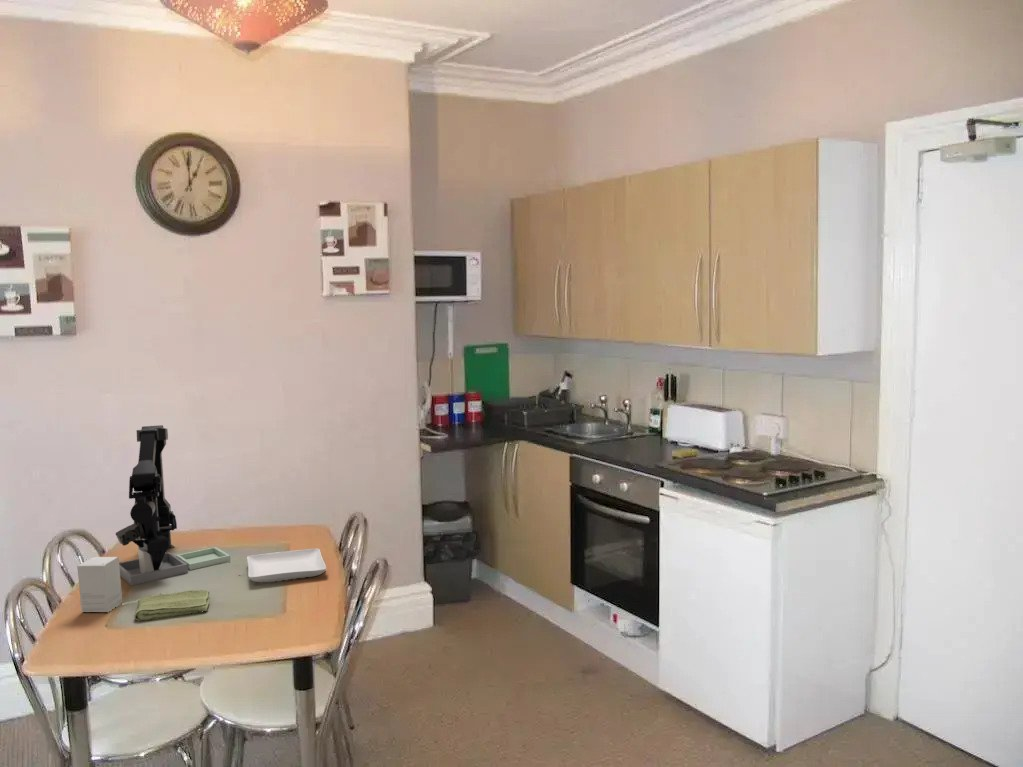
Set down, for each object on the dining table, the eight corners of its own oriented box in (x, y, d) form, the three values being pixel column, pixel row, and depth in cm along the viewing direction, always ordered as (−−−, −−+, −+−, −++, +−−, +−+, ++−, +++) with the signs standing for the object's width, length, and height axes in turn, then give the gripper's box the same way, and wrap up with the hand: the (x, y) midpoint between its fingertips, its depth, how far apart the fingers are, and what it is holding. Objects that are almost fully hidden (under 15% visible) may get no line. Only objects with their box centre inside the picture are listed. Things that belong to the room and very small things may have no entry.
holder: (176, 562, 258) (176, 555, 258) (215, 553, 265) (215, 546, 265) (190, 571, 249) (189, 564, 248) (230, 562, 256) (230, 555, 256)
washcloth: (209, 614, 217) (208, 602, 216) (134, 624, 211) (133, 612, 211) (210, 597, 229) (209, 585, 229) (138, 606, 224) (137, 594, 223)
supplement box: (123, 602, 225) (120, 556, 223) (107, 613, 218) (103, 565, 216) (97, 602, 226) (93, 556, 224) (80, 613, 218) (76, 565, 217)
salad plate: (319, 557, 260) (319, 546, 260) (327, 579, 240) (327, 567, 240) (246, 566, 254) (246, 554, 253) (249, 589, 234) (248, 577, 233)
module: (139, 571, 248) (138, 548, 247) (157, 567, 251) (156, 544, 250) (145, 576, 244) (143, 552, 243) (163, 572, 247) (161, 548, 246)
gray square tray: (115, 573, 249) (114, 563, 248) (170, 561, 258) (169, 552, 258) (131, 587, 237) (130, 576, 236) (188, 574, 246) (187, 564, 246)
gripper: (108, 513, 248) (112, 565, 249) (126, 526, 233) (131, 581, 235) (148, 506, 255) (152, 557, 256) (168, 518, 240) (172, 572, 242)
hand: (151, 566), depth 247 cm, fingers open, 9 cm apart
